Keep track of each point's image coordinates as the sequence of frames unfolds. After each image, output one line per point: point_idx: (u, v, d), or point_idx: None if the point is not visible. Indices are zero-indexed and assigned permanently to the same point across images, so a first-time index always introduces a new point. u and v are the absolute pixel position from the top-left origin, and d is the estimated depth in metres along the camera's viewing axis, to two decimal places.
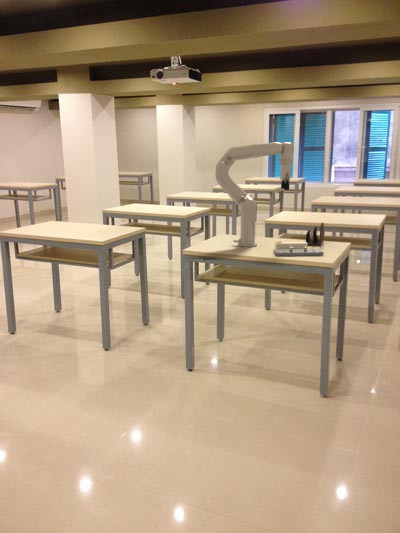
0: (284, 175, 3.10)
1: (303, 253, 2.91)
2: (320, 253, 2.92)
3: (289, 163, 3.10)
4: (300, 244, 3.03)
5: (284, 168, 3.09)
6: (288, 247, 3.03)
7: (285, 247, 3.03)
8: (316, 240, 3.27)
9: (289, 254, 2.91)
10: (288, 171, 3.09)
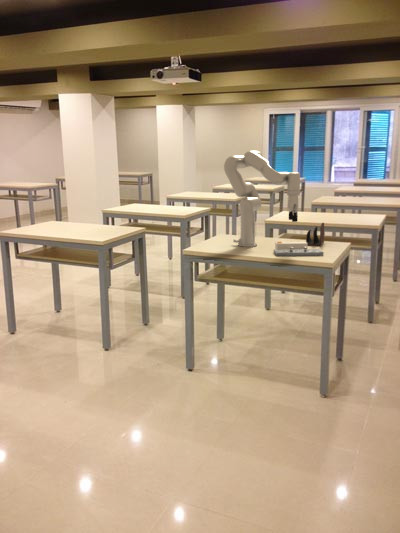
0: (292, 206, 2.95)
1: (303, 253, 2.91)
2: (320, 253, 2.92)
3: (297, 194, 2.95)
4: (300, 244, 3.03)
5: (292, 199, 2.95)
6: (288, 247, 3.03)
7: (285, 247, 3.03)
8: (316, 240, 3.27)
9: (289, 254, 2.91)
10: (296, 202, 2.95)
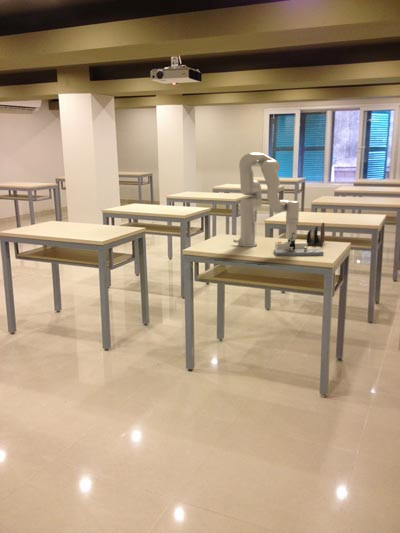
0: (290, 235, 3.00)
1: (303, 253, 2.91)
2: (320, 253, 2.92)
3: (295, 222, 3.00)
4: (300, 244, 3.03)
5: (290, 228, 2.99)
6: (288, 247, 3.03)
7: (285, 247, 3.03)
8: (317, 240, 3.27)
9: (289, 254, 2.91)
10: (294, 231, 2.99)
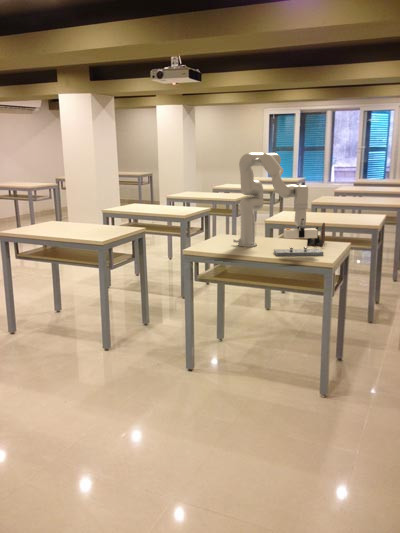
0: (299, 221, 2.86)
1: (303, 253, 2.91)
2: (320, 253, 2.92)
3: (305, 208, 2.87)
4: (310, 230, 2.90)
5: (299, 213, 2.86)
6: (297, 234, 2.90)
7: (295, 234, 2.90)
8: (317, 240, 3.26)
9: (289, 254, 2.91)
10: (304, 216, 2.86)
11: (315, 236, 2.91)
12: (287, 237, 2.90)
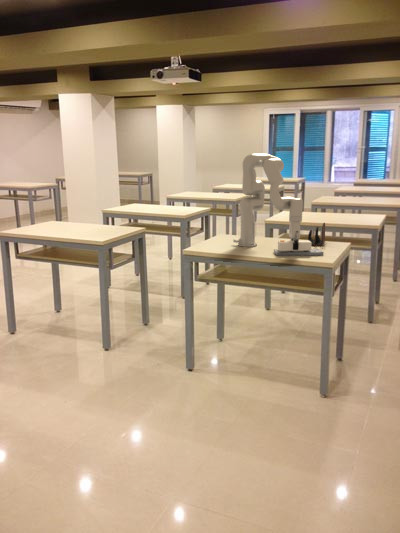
0: (294, 233, 2.88)
1: (303, 253, 2.91)
2: (320, 253, 2.92)
3: (299, 220, 2.88)
4: (304, 243, 2.92)
5: (294, 226, 2.88)
6: (291, 246, 2.92)
7: (289, 246, 2.92)
8: (318, 240, 3.26)
9: (289, 254, 2.91)
10: (298, 229, 2.88)
11: (309, 248, 2.93)
12: (281, 249, 2.92)
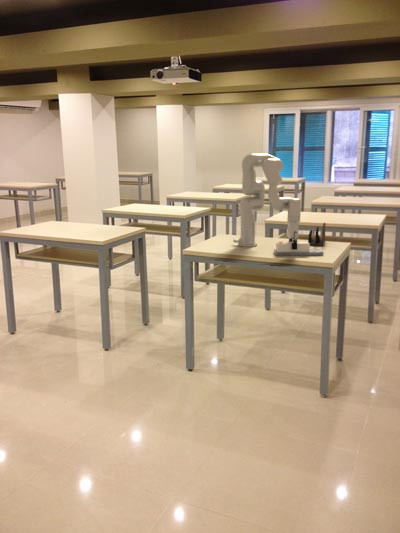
0: (292, 233, 2.88)
1: (303, 253, 2.91)
2: (320, 253, 2.92)
3: (297, 221, 2.88)
4: (302, 244, 2.92)
5: (292, 226, 2.88)
6: (289, 247, 2.92)
7: (287, 247, 2.92)
8: (318, 240, 3.26)
9: (289, 254, 2.91)
10: (296, 229, 2.88)
11: (307, 249, 2.93)
12: (279, 250, 2.92)
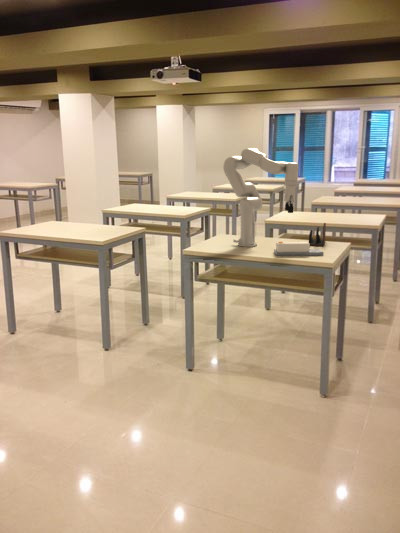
0: (288, 197, 2.92)
1: (303, 253, 2.91)
2: (320, 253, 2.92)
3: (294, 185, 2.92)
4: (302, 244, 2.92)
5: (288, 190, 2.92)
6: (289, 247, 2.92)
7: (287, 247, 2.92)
8: (319, 240, 3.26)
9: (289, 254, 2.91)
10: (292, 193, 2.92)
11: (307, 249, 2.93)
12: (279, 250, 2.92)
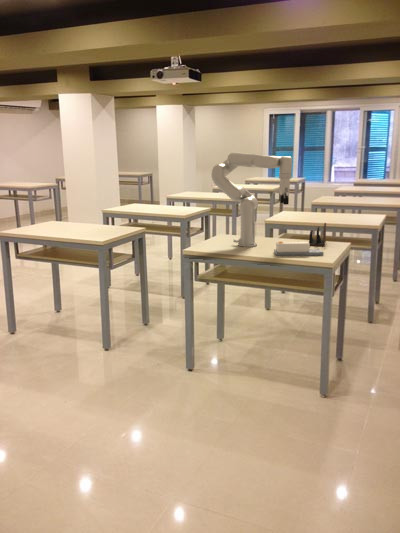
0: (283, 189, 3.04)
1: (303, 253, 2.91)
2: (320, 253, 2.92)
3: (288, 177, 3.04)
4: (302, 244, 2.92)
5: (283, 182, 3.03)
6: (289, 247, 2.92)
7: (287, 247, 2.92)
8: (319, 240, 3.26)
9: (289, 254, 2.91)
10: (287, 185, 3.04)
11: (307, 249, 2.93)
12: (279, 250, 2.92)
